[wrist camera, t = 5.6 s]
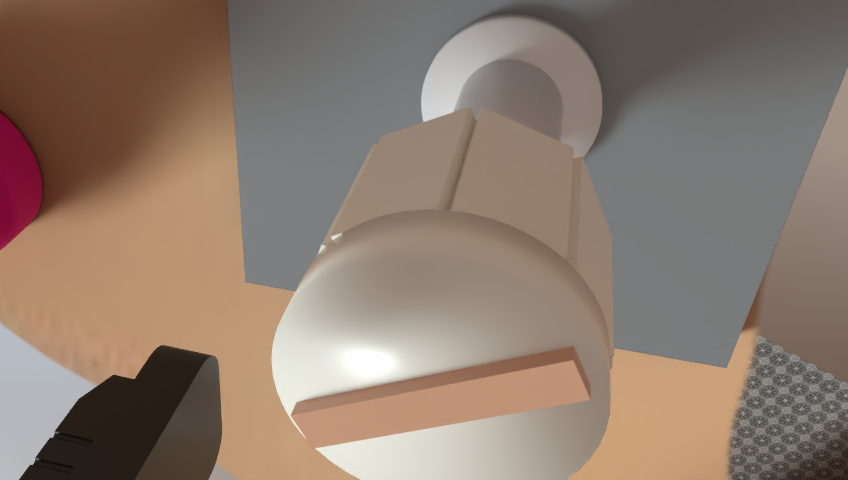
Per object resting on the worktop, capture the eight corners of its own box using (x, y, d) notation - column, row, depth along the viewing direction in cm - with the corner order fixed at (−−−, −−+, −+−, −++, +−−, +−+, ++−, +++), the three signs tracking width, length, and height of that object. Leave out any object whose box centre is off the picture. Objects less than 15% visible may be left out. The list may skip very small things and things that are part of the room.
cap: (557, 71, 14) (538, 223, 10) (641, 301, 17) (653, 499, 13) (304, 157, 16) (201, 313, 12) (412, 351, 19) (357, 536, 15)
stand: (233, -279, 19) (-118, -259, 10) (931, -209, 17) (1312, -104, 8) (260, 257, 28) (92, 532, 19) (720, 337, 27) (785, 683, 17)
